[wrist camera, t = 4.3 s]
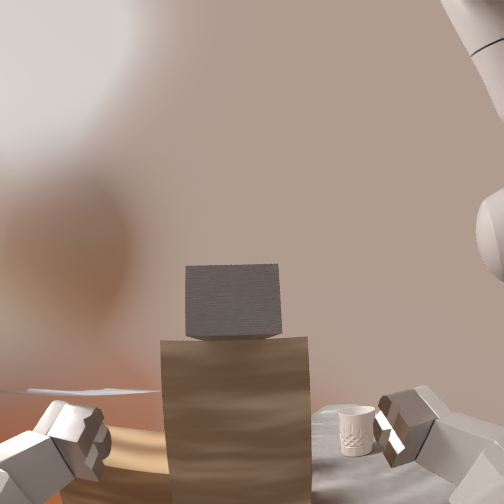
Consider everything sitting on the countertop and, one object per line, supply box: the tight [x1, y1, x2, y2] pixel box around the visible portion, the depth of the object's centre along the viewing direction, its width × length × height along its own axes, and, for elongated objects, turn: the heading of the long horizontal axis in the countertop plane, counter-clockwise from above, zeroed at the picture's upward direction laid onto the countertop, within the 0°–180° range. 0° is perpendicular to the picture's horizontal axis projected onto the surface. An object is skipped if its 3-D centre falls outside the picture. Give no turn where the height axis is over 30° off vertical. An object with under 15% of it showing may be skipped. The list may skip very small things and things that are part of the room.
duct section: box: [185, 264, 282, 341], centre depth 22 cm, size 20×4×3 cm, turn 3°
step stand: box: [59, 337, 312, 504], centre depth 21 cm, size 12×20×26 cm, turn 93°
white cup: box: [339, 406, 375, 457], centre depth 54 cm, size 8×8×10 cm
